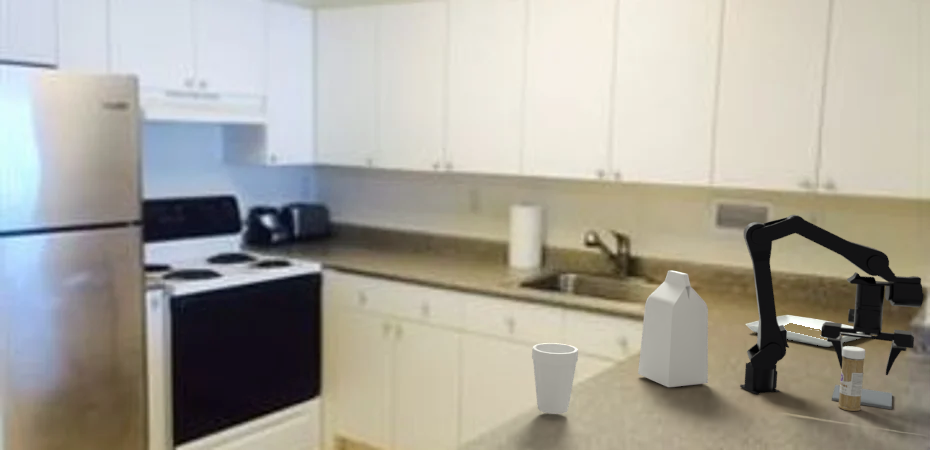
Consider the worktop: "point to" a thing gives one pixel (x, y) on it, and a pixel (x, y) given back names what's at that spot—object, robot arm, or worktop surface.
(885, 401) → the rest mat
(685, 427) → the worktop surface
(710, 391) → the worktop surface
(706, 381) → the milk
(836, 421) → the worktop surface
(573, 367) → the foam cup
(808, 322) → the square plate
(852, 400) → the sprinkles bottle
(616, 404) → the worktop surface
